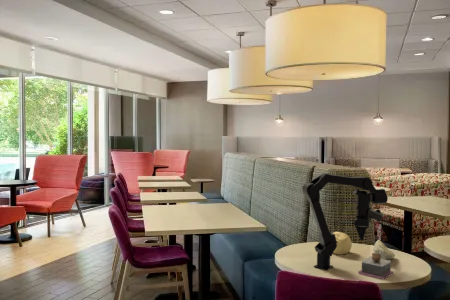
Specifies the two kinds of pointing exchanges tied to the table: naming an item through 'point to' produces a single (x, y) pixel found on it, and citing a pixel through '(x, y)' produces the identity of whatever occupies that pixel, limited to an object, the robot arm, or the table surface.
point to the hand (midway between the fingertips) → (362, 237)
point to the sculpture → (342, 243)
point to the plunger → (376, 257)
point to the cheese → (383, 250)
